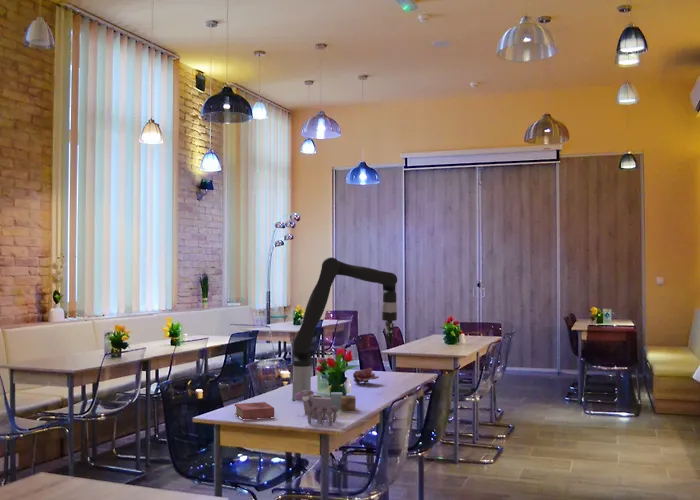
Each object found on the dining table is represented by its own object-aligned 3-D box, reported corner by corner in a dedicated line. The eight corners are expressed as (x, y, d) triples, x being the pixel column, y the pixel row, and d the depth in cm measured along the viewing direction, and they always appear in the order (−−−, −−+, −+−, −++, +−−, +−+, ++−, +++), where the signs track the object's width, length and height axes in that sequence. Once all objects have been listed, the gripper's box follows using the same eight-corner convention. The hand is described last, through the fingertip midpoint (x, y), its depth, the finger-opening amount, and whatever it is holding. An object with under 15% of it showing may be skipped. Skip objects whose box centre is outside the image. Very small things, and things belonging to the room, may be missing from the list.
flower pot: (314, 419, 318) (314, 399, 318) (297, 416, 323) (297, 397, 323) (326, 415, 326) (326, 396, 326) (309, 413, 331) (309, 394, 331)
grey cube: (330, 406, 341) (331, 394, 341) (330, 404, 347) (330, 392, 347) (342, 406, 342) (342, 394, 342) (341, 404, 347) (342, 392, 347)
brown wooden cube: (341, 411, 331) (341, 398, 331) (340, 408, 338) (340, 395, 338) (355, 411, 331) (355, 398, 332) (354, 408, 338) (354, 395, 338)
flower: (384, 379, 416) (378, 362, 417) (371, 385, 404) (366, 368, 405) (363, 383, 424) (358, 367, 425) (350, 390, 412) (345, 374, 413)
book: (243, 421, 313) (243, 410, 313) (234, 414, 327) (234, 404, 327) (274, 419, 319) (274, 408, 319) (264, 412, 333) (264, 402, 333)
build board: (330, 414, 329) (330, 411, 329) (328, 406, 347) (329, 404, 347) (356, 413, 330) (356, 411, 330) (353, 406, 348) (353, 404, 348)
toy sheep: (288, 422, 311) (289, 390, 312) (298, 418, 321) (299, 388, 322) (330, 426, 304) (331, 394, 305) (339, 422, 314) (340, 391, 315)
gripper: (380, 310, 376) (380, 341, 375) (383, 312, 362) (383, 344, 361) (394, 310, 376) (394, 341, 376) (398, 312, 362) (398, 344, 362)
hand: (389, 342), depth 369 cm, fingers open, 8 cm apart
